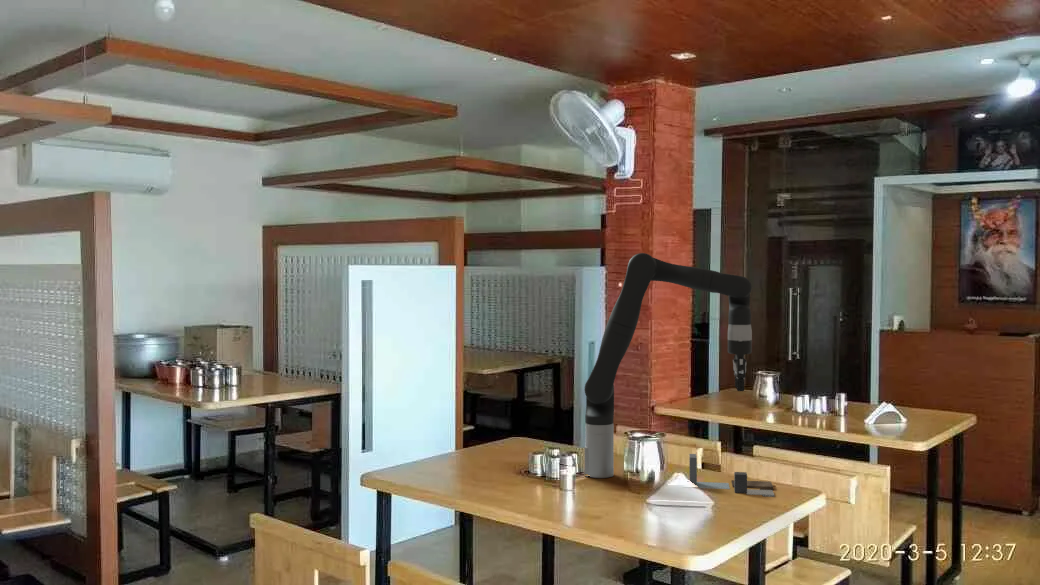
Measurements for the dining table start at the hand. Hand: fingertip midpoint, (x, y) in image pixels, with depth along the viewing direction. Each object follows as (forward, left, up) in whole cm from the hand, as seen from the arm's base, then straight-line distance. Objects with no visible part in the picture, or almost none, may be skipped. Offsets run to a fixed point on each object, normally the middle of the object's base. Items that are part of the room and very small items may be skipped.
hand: (739, 389), depth 285 cm
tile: (-15, -11, -29) cm, 34 cm away
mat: (-11, -11, -29) cm, 33 cm away
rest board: (+3, -9, -29) cm, 30 cm away
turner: (+3, -18, -29) cm, 34 cm away
